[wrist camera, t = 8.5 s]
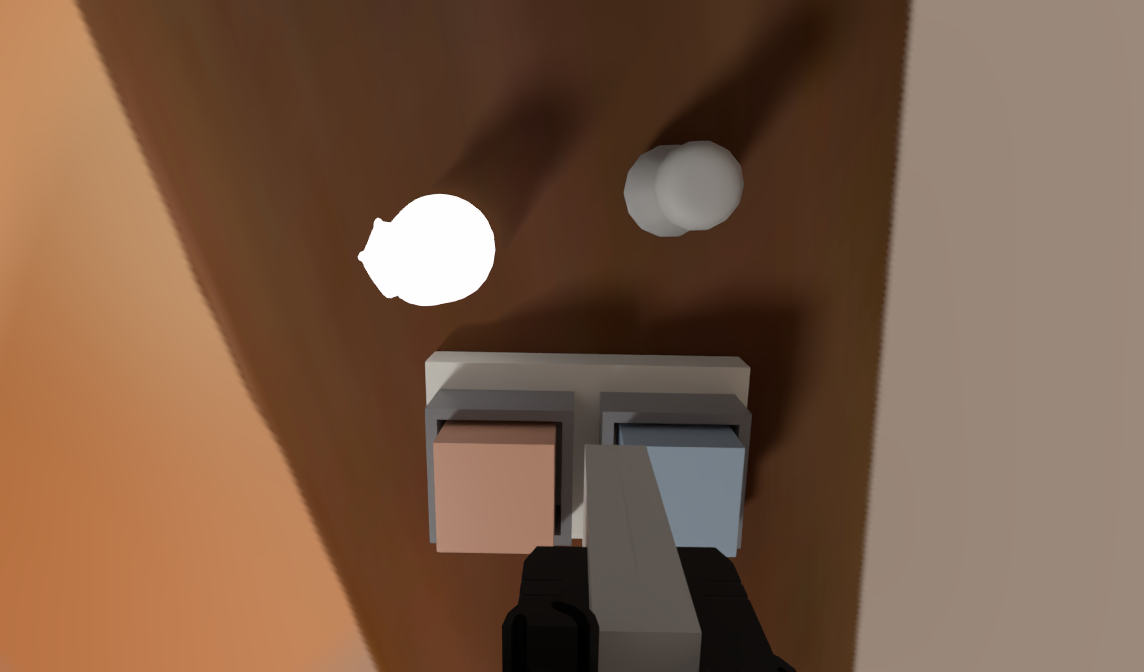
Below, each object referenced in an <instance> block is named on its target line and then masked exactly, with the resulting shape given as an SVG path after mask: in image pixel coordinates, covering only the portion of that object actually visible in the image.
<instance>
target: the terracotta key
mask: <svg viewBox="0 0 1144 672" xmlns="http://www.w3.org/2000/svg"><path fill="white" fill-rule="evenodd" d="M556 450H557V422H553V421H496V420H446V422H445V424H444V425H443V427H442V429H441V430H440V432H439V434H438V435H437V437H436V439H435V440H434V442H433V455H434V484H435V512H436V541H437V552H465V553H522V554H531V552H532V551H533V550H534V549H535V548H536V546H554V533H555V516H556Z"/></svg>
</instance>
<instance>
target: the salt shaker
mask: <svg viewBox="0 0 1144 672" xmlns="http://www.w3.org/2000/svg"><path fill="white" fill-rule="evenodd" d="M743 186H744V182H743V177H742V171H741V166H740V164H739V163H738V162H737V160H736V159H735V158H734V156H733V155H732V154H731V153H730V151H729V150H727V149H725V148H723V147H721V146H719V145H717V144H715V143H713V142H711V141H690V142H687V143H685V144H683V145H659V146H657V147H655V148H653V149H652V150H650V151H648V152H646V153H644V154H642V155H641V156H640V157H639V158H638V160H637V161H636V162H635V164H634V165H633V166H632V168H631V169H630V170H629V172H628V175H627V180H626V185H625V189H624V196H625V200H626V204H627V208H628V212H629V214H630V215H631V216H632V218H633V219H634V220H635V221H636V223H637V224H638V225H639V227H640V228H641V229H643V230H646V231H648V232H650V233H652V234H655V235H657V236H681V235H682V234H684V233H686V232H688V231H690V230H708V229H710V228H712V227H714V226H716V225H718V224H720V223H721V222H723V221H725V220H726V219H727V218H728V217H729V216H730V215H731V213H732V212H733V211H734V210H735V209H736V207H737V206H738V205H739V203H740V199H741V195H742V190H743Z"/></svg>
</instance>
